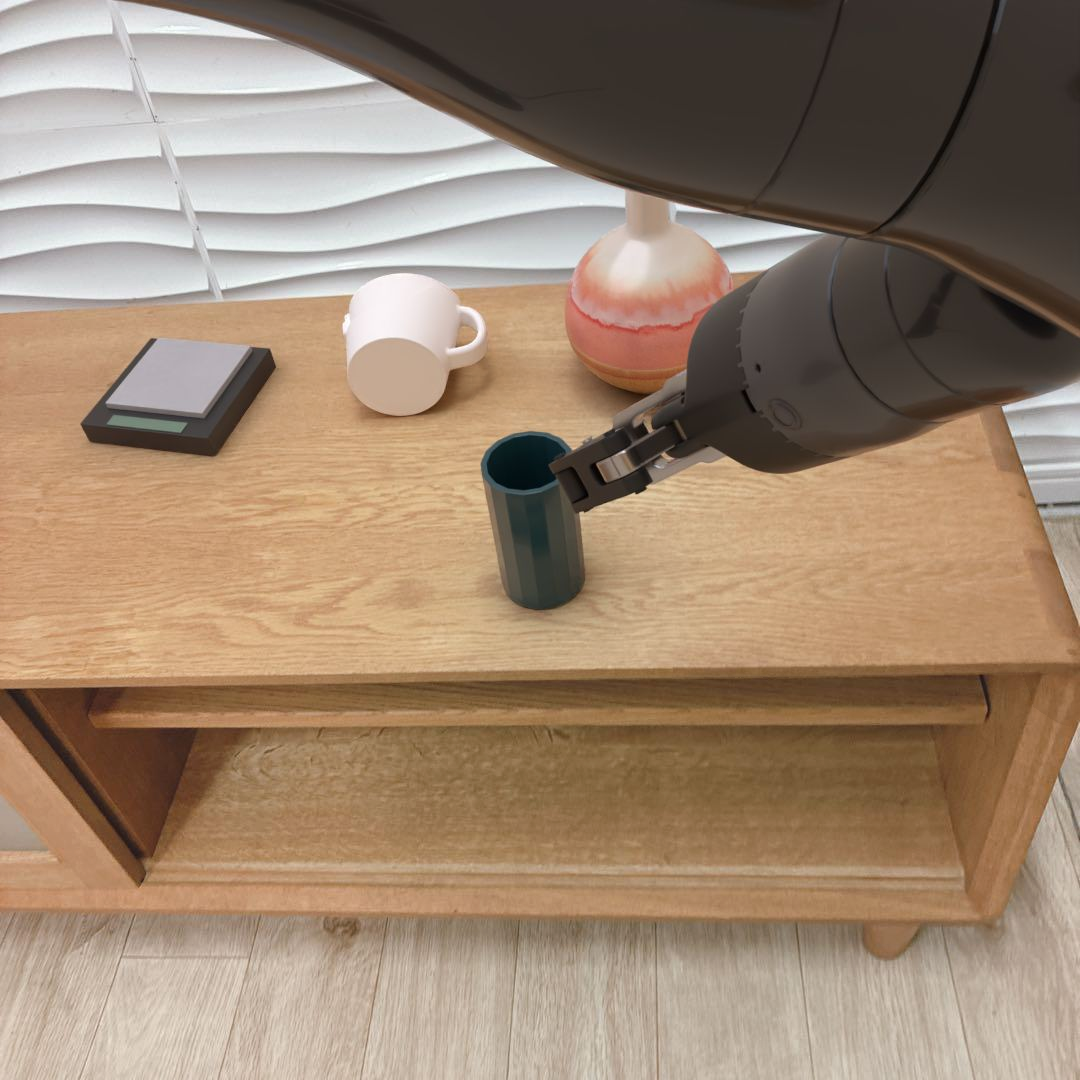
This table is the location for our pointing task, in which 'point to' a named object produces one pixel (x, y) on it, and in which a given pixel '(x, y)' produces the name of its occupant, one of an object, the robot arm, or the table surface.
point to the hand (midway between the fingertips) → (640, 436)
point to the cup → (533, 521)
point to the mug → (407, 342)
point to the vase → (642, 297)
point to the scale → (180, 396)
